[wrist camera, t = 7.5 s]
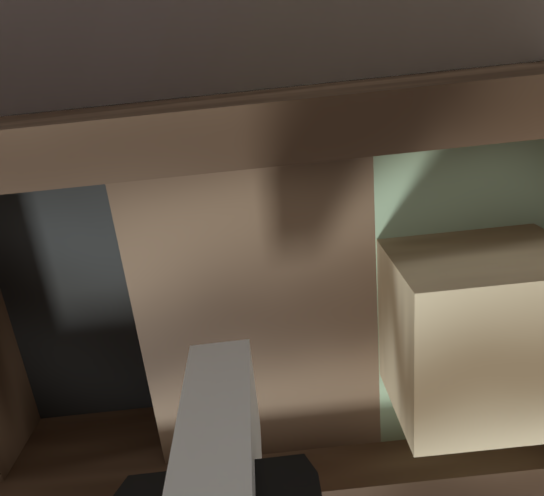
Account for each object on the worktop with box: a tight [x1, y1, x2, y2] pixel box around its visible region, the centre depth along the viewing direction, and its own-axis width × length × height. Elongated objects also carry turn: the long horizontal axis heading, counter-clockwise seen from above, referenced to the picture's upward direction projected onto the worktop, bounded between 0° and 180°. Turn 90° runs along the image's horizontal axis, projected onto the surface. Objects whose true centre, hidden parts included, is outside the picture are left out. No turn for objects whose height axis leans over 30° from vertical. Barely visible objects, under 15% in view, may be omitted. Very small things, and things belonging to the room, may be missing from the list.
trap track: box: [0, 61, 544, 496], centre depth 18 cm, size 14×32×6 cm, turn 95°
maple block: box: [376, 223, 544, 458], centre depth 15 cm, size 5×5×4 cm
